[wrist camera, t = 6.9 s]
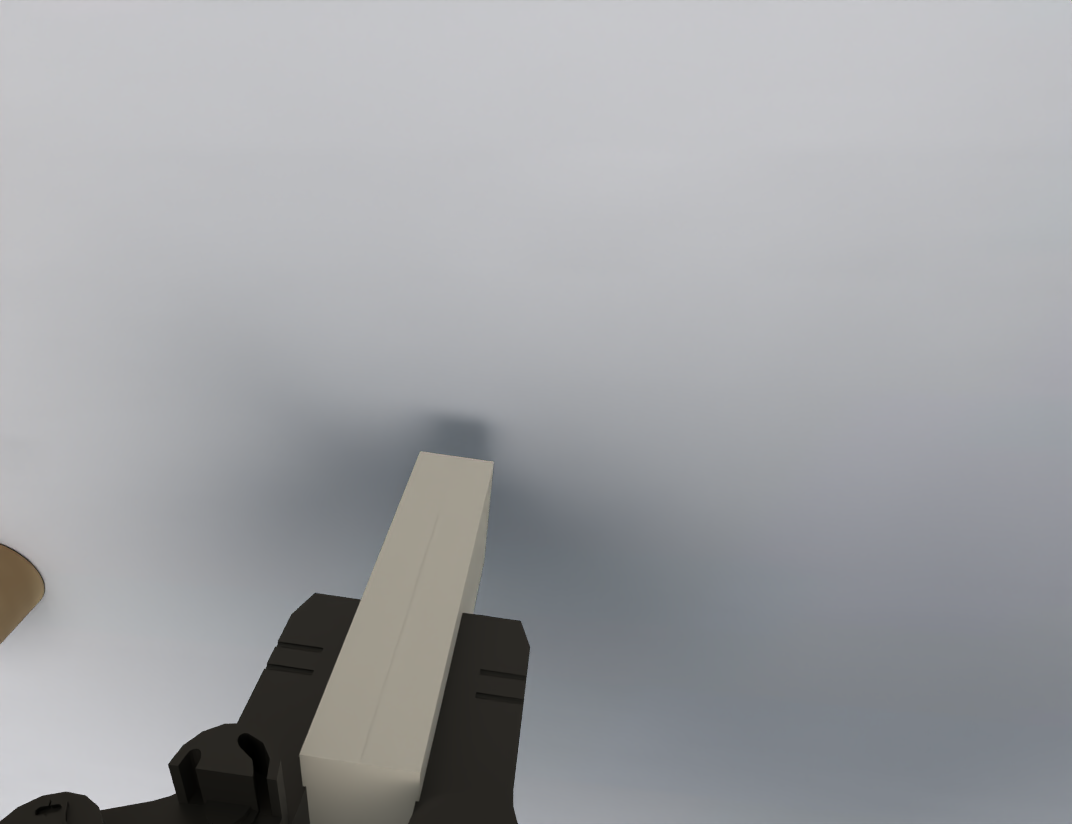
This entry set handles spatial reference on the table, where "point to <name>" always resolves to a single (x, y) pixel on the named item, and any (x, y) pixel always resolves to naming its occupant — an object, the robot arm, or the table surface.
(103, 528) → the table surface
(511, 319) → the table surface
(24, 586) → the post
